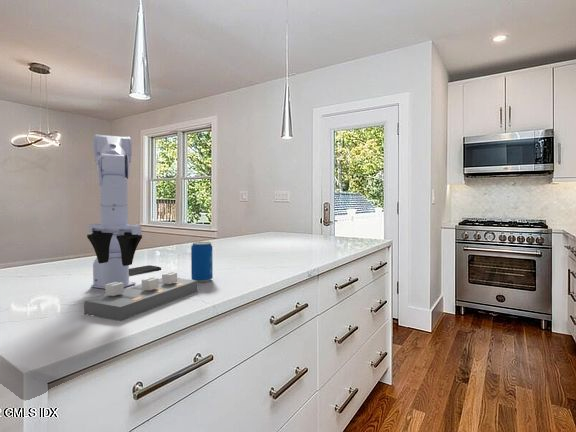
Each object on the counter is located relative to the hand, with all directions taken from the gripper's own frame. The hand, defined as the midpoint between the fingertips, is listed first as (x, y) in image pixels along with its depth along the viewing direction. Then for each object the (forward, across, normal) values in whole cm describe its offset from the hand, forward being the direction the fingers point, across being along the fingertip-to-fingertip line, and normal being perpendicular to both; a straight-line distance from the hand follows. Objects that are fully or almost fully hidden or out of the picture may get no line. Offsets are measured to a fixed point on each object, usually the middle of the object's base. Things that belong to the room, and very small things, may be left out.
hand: (115, 263), depth 81 cm
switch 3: (+7, +4, +14) cm, 16 cm away
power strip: (+10, +3, +9) cm, 14 cm away
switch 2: (+7, +4, +7) cm, 11 cm away
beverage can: (+11, +2, +31) cm, 33 cm away
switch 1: (+7, 0, 0) cm, 7 cm away
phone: (+11, -27, +33) cm, 44 cm away
